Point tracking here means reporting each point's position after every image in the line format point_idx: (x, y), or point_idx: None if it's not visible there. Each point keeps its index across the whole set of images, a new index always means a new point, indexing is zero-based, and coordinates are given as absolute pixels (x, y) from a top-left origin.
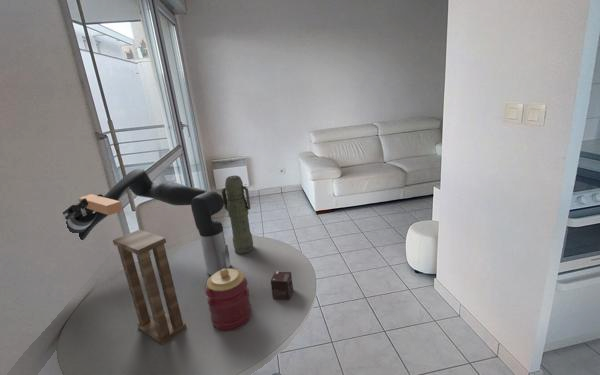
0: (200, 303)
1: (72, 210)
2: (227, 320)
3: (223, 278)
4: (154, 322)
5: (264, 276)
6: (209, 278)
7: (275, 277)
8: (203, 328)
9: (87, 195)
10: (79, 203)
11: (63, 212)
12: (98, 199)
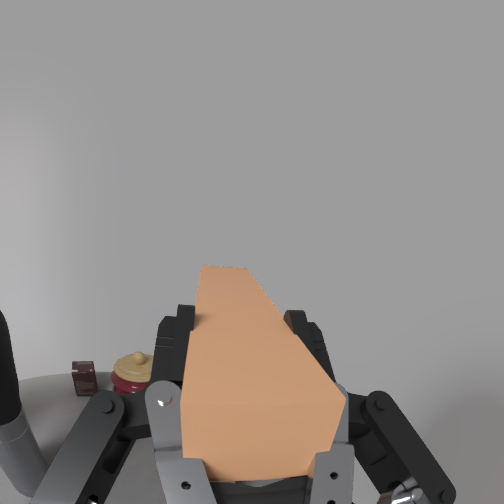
0: (135, 465)
1: (384, 458)
2: None
3: (145, 361)
4: (215, 481)
5: (49, 413)
6: (147, 378)
7: (86, 369)
8: None
9: (237, 398)
10: (329, 365)
11: (448, 483)
12: (232, 296)
